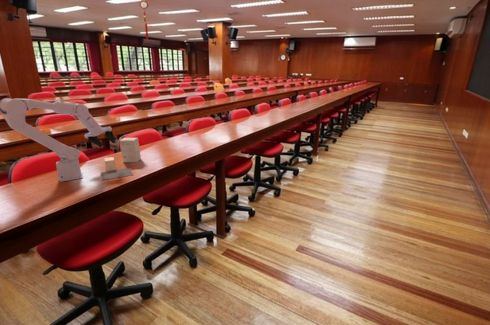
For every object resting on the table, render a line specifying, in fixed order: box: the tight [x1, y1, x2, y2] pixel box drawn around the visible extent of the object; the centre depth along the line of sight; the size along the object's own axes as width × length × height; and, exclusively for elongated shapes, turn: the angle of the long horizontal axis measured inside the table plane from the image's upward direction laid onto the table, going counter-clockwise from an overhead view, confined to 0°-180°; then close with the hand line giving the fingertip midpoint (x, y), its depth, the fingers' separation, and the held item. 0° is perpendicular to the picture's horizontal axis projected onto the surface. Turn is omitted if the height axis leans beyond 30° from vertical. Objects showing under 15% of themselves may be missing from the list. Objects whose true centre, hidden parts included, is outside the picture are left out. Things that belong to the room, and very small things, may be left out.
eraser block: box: [103, 156, 117, 172], centre depth 144 cm, size 4×6×6 cm
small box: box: [119, 137, 142, 163], centre depth 156 cm, size 8×6×13 cm
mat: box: [100, 167, 134, 181], centre depth 138 cm, size 14×12×1 cm
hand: (108, 144), depth 146 cm, fingers open, 7 cm apart
